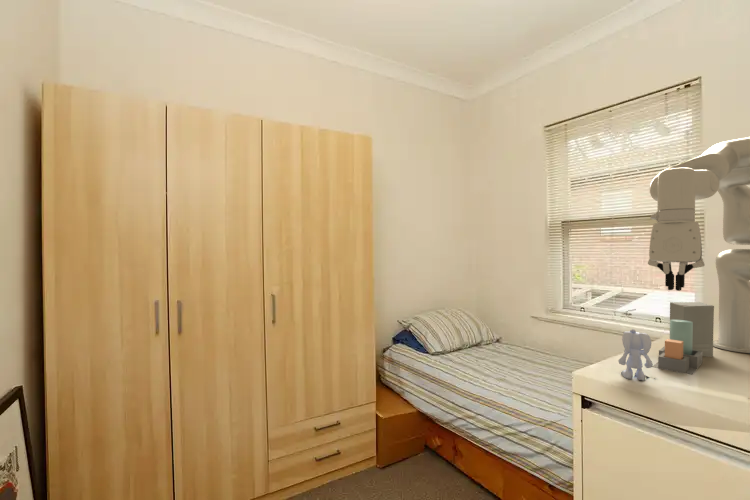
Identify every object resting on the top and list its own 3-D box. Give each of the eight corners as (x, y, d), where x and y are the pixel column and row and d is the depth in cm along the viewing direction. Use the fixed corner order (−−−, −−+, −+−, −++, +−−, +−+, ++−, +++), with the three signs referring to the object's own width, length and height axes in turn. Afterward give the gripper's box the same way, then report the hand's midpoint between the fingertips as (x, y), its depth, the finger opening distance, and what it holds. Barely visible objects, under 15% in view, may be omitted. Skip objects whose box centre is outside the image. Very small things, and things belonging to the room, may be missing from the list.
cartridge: (671, 358, 105) (671, 318, 105) (693, 362, 102) (694, 321, 102) (667, 361, 102) (668, 320, 102) (690, 365, 99) (690, 323, 99)
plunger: (667, 358, 99) (667, 338, 99) (683, 360, 96) (683, 341, 96) (664, 360, 97) (664, 340, 96) (680, 363, 94) (680, 343, 94)
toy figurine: (648, 376, 93) (648, 327, 93) (654, 384, 88) (655, 332, 88) (615, 372, 96) (616, 324, 96) (619, 379, 91) (620, 329, 90)
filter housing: (665, 359, 108) (665, 345, 108) (702, 366, 102) (702, 351, 102) (651, 370, 98) (652, 355, 98) (691, 378, 92) (692, 362, 92)
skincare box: (696, 353, 114) (697, 301, 114) (715, 360, 107) (716, 304, 107) (666, 352, 115) (667, 300, 115) (683, 359, 108) (684, 304, 108)
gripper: (635, 218, 99) (635, 288, 99) (713, 215, 88) (712, 294, 88) (643, 220, 104) (642, 286, 105) (718, 216, 93) (717, 291, 93)
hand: (674, 289), depth 96 cm, fingers closed
